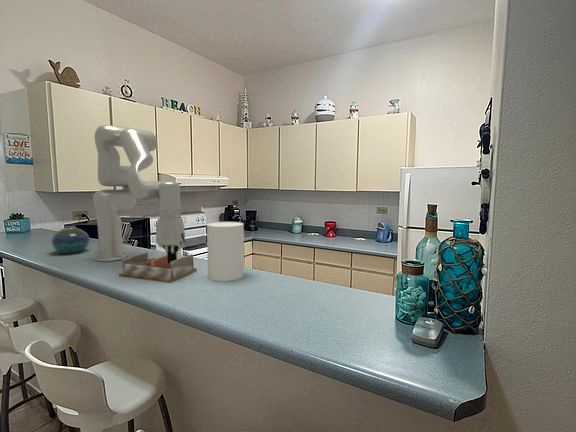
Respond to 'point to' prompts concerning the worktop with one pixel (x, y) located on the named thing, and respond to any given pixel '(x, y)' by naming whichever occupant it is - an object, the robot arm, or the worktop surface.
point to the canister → (225, 250)
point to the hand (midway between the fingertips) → (172, 262)
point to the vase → (70, 240)
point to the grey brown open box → (156, 268)
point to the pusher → (160, 262)
